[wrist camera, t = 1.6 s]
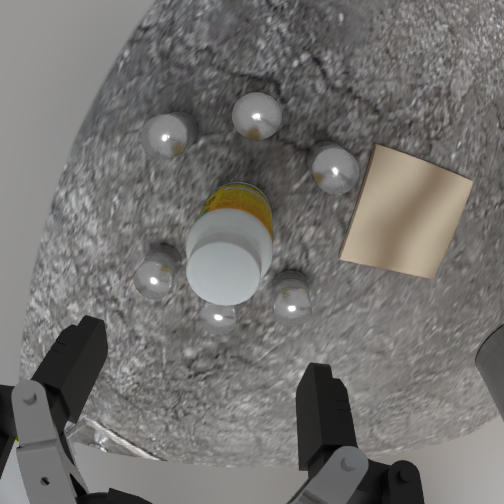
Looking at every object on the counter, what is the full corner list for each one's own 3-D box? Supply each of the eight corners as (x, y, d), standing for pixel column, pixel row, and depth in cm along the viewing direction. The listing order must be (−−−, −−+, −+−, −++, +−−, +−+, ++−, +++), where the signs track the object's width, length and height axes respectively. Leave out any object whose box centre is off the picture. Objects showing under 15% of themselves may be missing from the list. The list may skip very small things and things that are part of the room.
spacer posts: (357, 117, 21) (374, 122, 18) (294, 319, 30) (297, 348, 26) (167, 80, 20) (148, 78, 17) (148, 290, 29) (134, 316, 26)
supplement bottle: (261, 249, 27) (257, 326, 18) (199, 233, 26) (167, 302, 18) (281, 190, 24) (287, 246, 16) (213, 171, 24) (182, 218, 15)
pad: (470, 179, 22) (473, 181, 22) (430, 275, 27) (432, 279, 26) (374, 143, 22) (376, 144, 21) (338, 255, 26) (339, 259, 26)
